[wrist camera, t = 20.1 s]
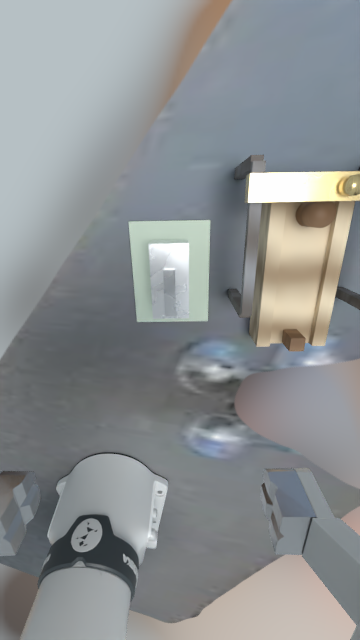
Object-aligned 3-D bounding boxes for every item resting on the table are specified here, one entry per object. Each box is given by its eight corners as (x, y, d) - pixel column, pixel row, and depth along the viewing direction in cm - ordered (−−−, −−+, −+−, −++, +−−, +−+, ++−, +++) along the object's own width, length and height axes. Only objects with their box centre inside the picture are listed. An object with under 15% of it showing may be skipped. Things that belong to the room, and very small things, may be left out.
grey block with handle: (188, 306, 33) (189, 320, 29) (155, 306, 33) (152, 320, 29) (187, 239, 30) (188, 243, 26) (152, 239, 30) (147, 244, 26)
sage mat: (207, 319, 34) (207, 320, 34) (137, 320, 34) (137, 322, 34) (209, 219, 30) (210, 220, 29) (129, 221, 30) (128, 221, 29)
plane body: (333, 331, 35) (372, 362, 28) (226, 333, 35) (237, 364, 28) (369, 165, 28) (435, 149, 21) (234, 168, 28) (253, 153, 21)
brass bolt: (429, 199, 22) (455, 198, 20) (244, 202, 22) (251, 202, 20) (438, 171, 21) (466, 167, 19) (246, 175, 21) (253, 171, 19)
